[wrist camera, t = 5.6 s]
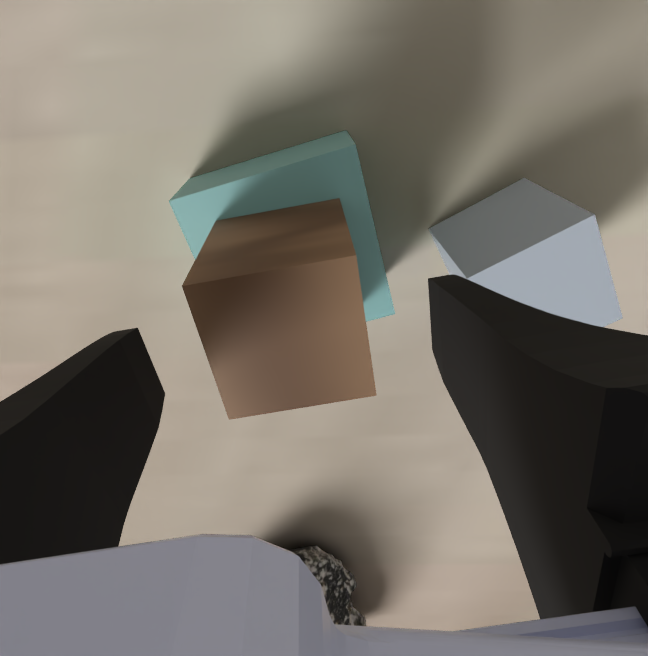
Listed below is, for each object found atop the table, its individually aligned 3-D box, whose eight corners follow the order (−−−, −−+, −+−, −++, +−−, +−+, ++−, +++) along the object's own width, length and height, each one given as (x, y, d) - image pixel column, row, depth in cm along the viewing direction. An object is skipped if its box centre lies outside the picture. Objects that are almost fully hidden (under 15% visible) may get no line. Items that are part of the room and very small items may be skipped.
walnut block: (339, 197, 15) (356, 255, 11) (356, 308, 17) (376, 395, 12) (215, 220, 15) (181, 286, 11) (246, 327, 17) (229, 419, 13)
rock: (163, 513, 29) (100, 717, 24) (293, 541, 23) (241, 806, 19) (286, 538, 38) (255, 687, 34) (397, 562, 33) (377, 740, 29)
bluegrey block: (523, 177, 18) (594, 214, 14) (551, 261, 20) (622, 318, 16) (428, 228, 19) (466, 278, 15) (463, 305, 21) (507, 370, 16)
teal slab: (345, 129, 17) (355, 144, 14) (380, 275, 20) (395, 313, 17) (191, 176, 18) (169, 201, 15) (247, 311, 21) (237, 355, 18)
